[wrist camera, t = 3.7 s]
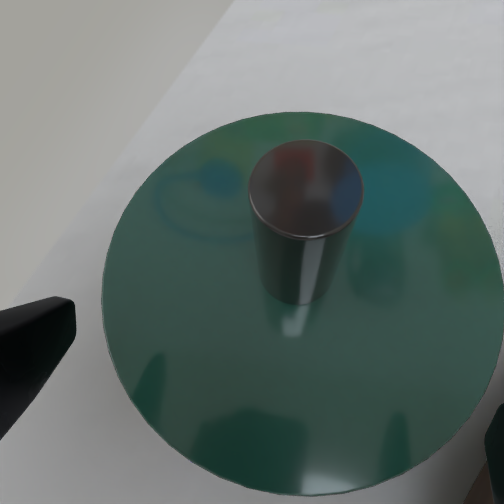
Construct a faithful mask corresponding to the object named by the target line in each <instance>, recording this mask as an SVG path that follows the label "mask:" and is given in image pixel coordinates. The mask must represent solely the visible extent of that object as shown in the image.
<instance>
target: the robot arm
mask: <svg viewBox="0 0 504 504" xmlns="http://www.w3.org/2000/svg"><path fill="white" fill-rule="evenodd" d="M75 336H76V313H75V304H74V302H73V301H72V300H70V299H66V298H62V297H57V296H54V297H50V298H46V299H42V300H39V301H35V302H31V303H28V304H24V305H20V306H16V307H13V308H9V309H5V310H2V311H0V440H1V439H2V438H3V437H4V435H5V434H6V433H7V432H8V430H9V429H10V428H11V427H12V426H13V424H14V423H15V422H16V421H17V420H18V418H19V417H20V416H21V415H22V414H23V412H24V411H25V410H26V409H27V407H28V406H29V405H30V404H31V402H32V401H33V400H34V399H35V397H36V396H37V394H38V393H39V392H40V390H41V389H42V387H43V386H44V384H45V383H46V382H47V380H48V379H49V377H50V376H51V374H52V373H53V371H54V370H55V368H56V367H57V365H58V364H59V362H60V361H61V359H62V358H63V356H64V355H65V353H66V352H67V350H68V349H69V347H70V346H71V344H72V343H73V341H74V339H75ZM485 452H486V458H487V464H488V470H489V476H490V483H491V489H492V495H493V501H494V504H504V403H503V404H501V405H500V406H499V408H498V409H497V411H496V413H495V415H494V418H493V420H492V422H491V424H490V426H489V428H488V430H487V432H486V435H485Z"/></svg>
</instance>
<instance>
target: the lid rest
mask: <svg viewBox="0 0 504 504" xmlns="http://www.w3.org/2000/svg"><path fill="white" fill-rule="evenodd" d="M463 504H494V501H493V495H492V489H491V483H490V476H489V470H488V464H487V461H486V463H485V464H484V466H483V468H482V470H481V472H480V473H479V475H478V477H477V479H476V481H475V483H474V484H473V486H472V488H471V490H470V492H469V493H468V495H467V497H466V499H465V501H464V503H463Z"/></svg>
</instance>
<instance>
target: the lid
mask: <svg viewBox="0 0 504 504" xmlns="http://www.w3.org/2000/svg"><path fill="white" fill-rule="evenodd" d="M101 305H102V318H103V328H104V333H105V337H106V342H107V346H108V351H109V354H110V357H111V359H112V362H113V365H114V367H115V370H116V373H117V376H118V378H119V380H120V382H121V383H122V385H123V387H124V389H125V391H126V393H127V394H128V396H129V398H130V400H131V402H132V403H133V404H134V406H135V407H136V408H137V410H138V411H139V412H140V414H141V415H142V417H143V418H144V419H145V421H146V422H147V423H148V424H149V425H150V426H151V427H152V428H153V429H154V431H155V432H156V433H157V434H158V435H159V436H160V437H161V438H162V439H163V440H164V441H165V442H166V443H167V444H168V445H170V446H171V447H172V448H174V449H175V450H176V451H178V452H179V453H180V454H182V455H183V456H184V457H186V458H187V459H188V460H190V461H191V462H192V463H194V464H196V465H198V466H199V467H201V468H203V469H205V470H207V471H208V472H210V473H212V474H214V475H216V476H218V477H219V478H222V479H225V480H227V481H230V482H233V483H236V484H238V485H241V486H244V487H246V488H249V489H254V490H259V491H263V492H268V493H273V494H278V495H289V496H306V497H315V496H326V495H337V494H345V493H349V492H353V491H357V490H361V489H365V488H369V487H373V486H376V485H378V484H380V483H383V482H385V481H388V480H390V479H392V478H395V477H397V476H400V475H402V474H404V473H405V472H407V471H409V470H410V469H412V468H413V467H415V466H417V465H418V464H420V463H422V462H423V461H425V460H427V459H428V458H429V457H430V456H432V455H433V454H434V453H435V452H436V451H438V450H439V449H440V448H441V447H442V446H443V445H445V444H446V443H447V442H448V441H449V440H450V439H451V438H452V437H453V436H454V435H455V434H456V433H457V431H458V430H459V429H460V428H461V427H462V426H463V424H464V423H465V422H466V421H467V420H468V419H469V417H470V416H471V414H472V413H473V411H474V410H475V408H476V406H477V405H478V403H479V401H480V400H481V398H482V397H483V395H484V393H485V391H486V389H487V387H488V384H489V382H490V379H491V377H492V375H493V372H494V370H495V367H496V364H497V360H498V356H499V352H500V348H501V344H502V340H503V331H504V284H503V279H502V274H501V269H500V264H499V260H498V257H497V254H496V251H495V248H494V245H493V242H492V239H491V236H490V234H489V232H488V230H487V228H486V226H485V224H484V222H483V220H482V218H481V216H480V214H479V213H478V211H477V210H476V208H475V207H474V205H473V204H472V202H471V201H470V199H469V198H468V196H467V195H466V193H465V192H464V191H463V190H462V189H461V188H460V186H459V185H458V184H457V183H456V182H455V180H454V179H453V178H452V177H451V176H450V175H449V174H448V173H447V172H446V171H445V170H444V169H443V168H441V167H440V166H439V165H438V164H437V163H436V162H435V161H434V160H433V159H431V158H430V157H429V156H427V155H426V154H425V153H423V152H422V151H420V150H419V149H418V148H416V147H415V146H413V145H412V144H410V143H408V142H406V141H405V140H403V139H401V138H399V137H398V136H396V135H394V134H392V133H390V132H387V131H385V130H383V129H381V128H378V127H376V126H374V125H371V124H368V123H364V122H361V121H358V120H355V119H352V118H347V117H342V116H337V115H332V114H324V113H314V112H282V113H273V114H264V115H260V116H255V117H250V118H246V119H242V120H239V121H236V122H233V123H230V124H227V125H224V126H221V127H219V128H217V129H215V130H212V131H210V132H208V133H206V134H204V135H202V136H200V137H198V138H197V139H195V140H193V141H192V142H190V143H188V144H187V145H185V146H183V147H182V148H181V149H179V150H178V151H177V152H175V153H174V154H173V155H172V156H170V157H169V158H168V159H166V160H165V161H164V162H163V163H162V164H161V165H160V166H159V167H158V168H157V169H156V170H155V171H154V172H153V173H152V174H151V175H150V176H149V177H148V178H147V179H146V181H145V182H144V183H143V184H142V186H141V187H140V188H139V189H138V190H137V192H136V193H135V195H134V196H133V198H132V199H131V201H130V203H129V204H128V206H127V207H126V209H125V210H124V212H123V214H122V216H121V219H120V221H119V223H118V225H117V227H116V229H115V231H114V234H113V237H112V240H111V243H110V246H109V249H108V252H107V257H106V262H105V267H104V272H103V279H102V297H101Z"/></svg>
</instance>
